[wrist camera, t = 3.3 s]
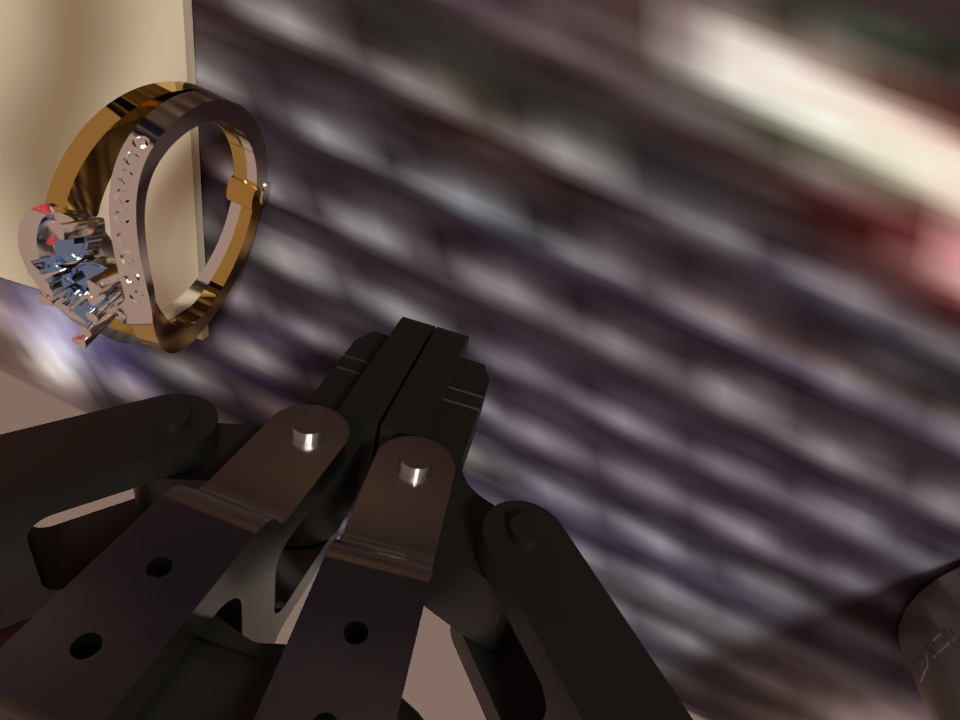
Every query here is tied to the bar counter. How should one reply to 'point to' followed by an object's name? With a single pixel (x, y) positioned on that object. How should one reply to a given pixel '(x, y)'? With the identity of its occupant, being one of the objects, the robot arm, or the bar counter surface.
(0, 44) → the birch board
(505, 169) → the bar counter surface
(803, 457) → the bar counter surface
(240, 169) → the ring
